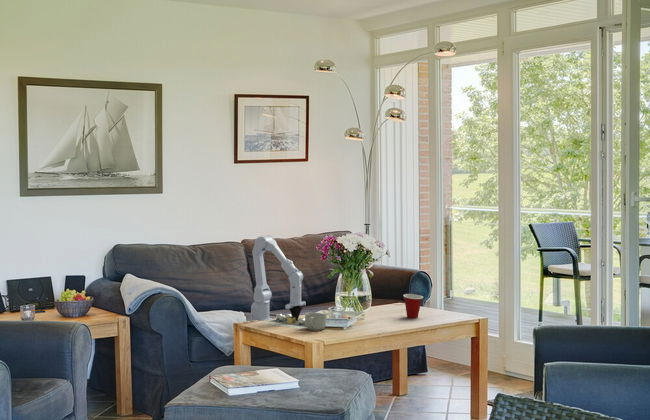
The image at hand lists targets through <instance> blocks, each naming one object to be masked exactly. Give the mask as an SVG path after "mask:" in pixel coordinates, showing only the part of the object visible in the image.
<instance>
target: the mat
mask: <svg viewBox="0 0 650 420" xmlns="http://www.w3.org/2000/svg"><path fill="white" fill-rule="evenodd" d="M262 324H266V325H272V326H277V327H284V328H290V329H295V330H296V329H297V330H300V329H303V328H307V327H306V326H305V325H299V318H298V321H296V324H287V321H286V320H285V322H279V320H276V319H271V320H267V321H263V322H262Z"/></svg>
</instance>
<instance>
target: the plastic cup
mask: <svg viewBox="0 0 650 420" xmlns="http://www.w3.org/2000/svg"><path fill="white" fill-rule="evenodd" d="M403 298H404V299H403V300H404V303H405V304H404V305H405V312H406V317H407V318H408V319H418V318H419V314H420V313H419V312H420V308H421V304H422V301H423V299H424V296H422V295H420V294H413V293H405V294H403Z"/></svg>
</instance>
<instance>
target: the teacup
mask: <svg viewBox="0 0 650 420" xmlns="http://www.w3.org/2000/svg"><path fill="white" fill-rule="evenodd" d="M304 315H305V316H304V319H305V326H306V327H305V328H307V330H309V331H316V332H317V331H322V330H323V329H325V328H326V324H327V317H328V314H325V313H322V312H305V313H304Z"/></svg>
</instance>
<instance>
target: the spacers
mask: <svg viewBox="0 0 650 420" xmlns="http://www.w3.org/2000/svg"><path fill="white" fill-rule="evenodd" d="M287 317H292V314H291V313H286V314H284V315H283V313H276V317H275V318H276V319H275V320H279V322H285V320H286V321H287ZM298 319H299V325H305V317H301V318H298Z"/></svg>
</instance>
